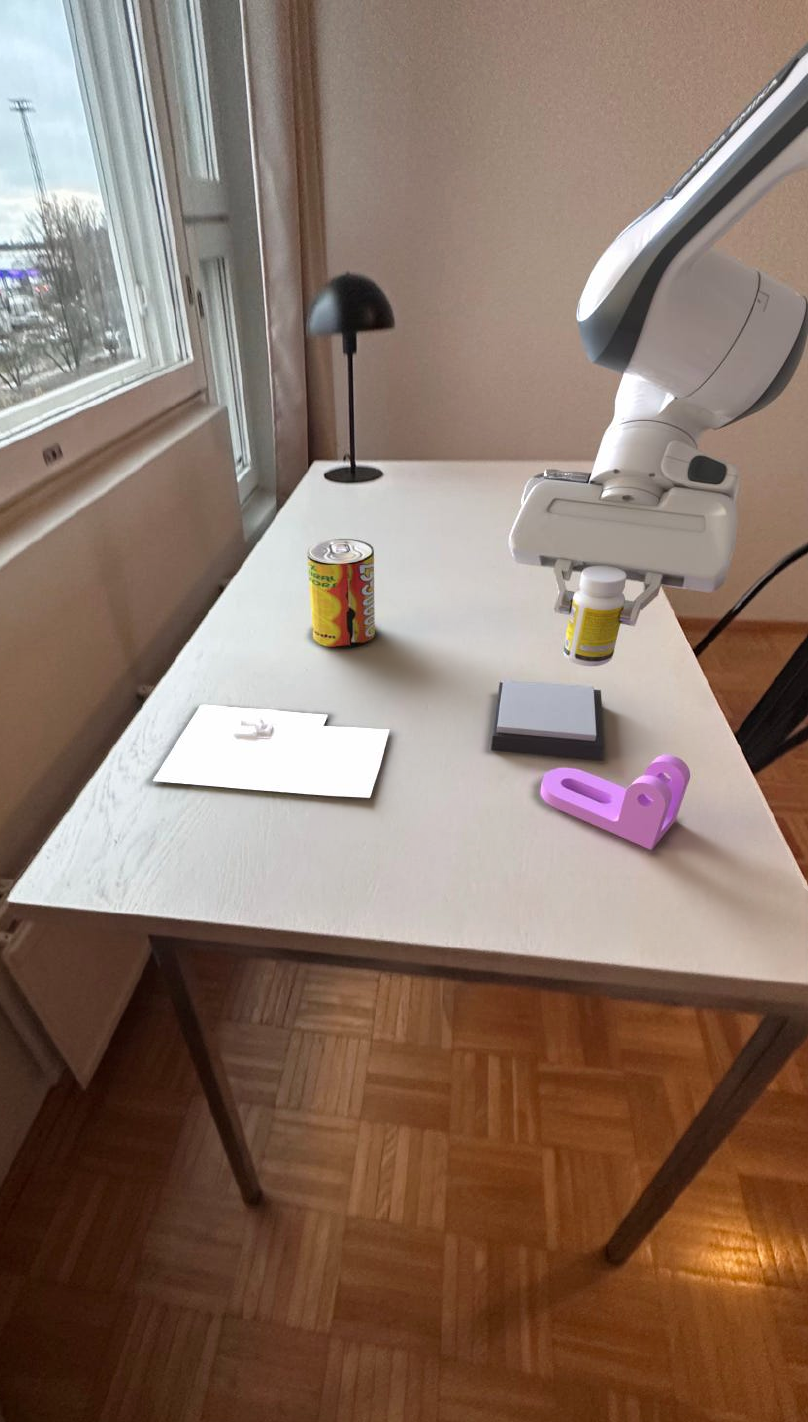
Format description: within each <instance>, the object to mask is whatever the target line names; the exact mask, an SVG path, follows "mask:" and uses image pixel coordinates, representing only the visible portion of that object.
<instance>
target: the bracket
mask: <svg viewBox="0 0 808 1422" xmlns="http://www.w3.org/2000/svg"><path fill="white" fill-rule="evenodd" d="M665 774H667V775H668V776H669V777H670V778H669V777H667V776H666V775H665ZM690 779H691V771H690V768H689V766H688V764H687V763H686V762H685V761H684V760H683V759H681V758H680V757H678V756H677V755H672V754H662V755H659V756H657V757H656V758H654V760H653V761H652V762H651V763H650V764H649V765H648V766H647V767H646V769H645V771H644V775H642V776H638V777H637V778H636V779H635V780H634V781H633V782H632V783H631V784H630V785H629V786H628V787H627V788H626V787H623V786H622V785H619V784H617V783H614V782H612V781H609V780H606V779H604V778H601V777H599V776H596V775H594V774H591V773H589V772H587V771H584V770H581V769H578V768H575V767H574V768H573V767H558V768H554V769H551V770H549V771H547V772H546V773H545V774H544V775H543V777H542V781H541V785H540V791H539V792H540V797H541V798H542V800H543V801H544V802H545V803H546V804H548V805H549V806H551V807H552V808H555V809H557V810H559V811H562V812H564V813H566V814H568V815H570V816H573V817H575V818H577V819H580V820H581V821H584V822H586V823H588V824H591V825H593V826H595V827H597V828H600V829H602V830H604V831H607V832H609V833H611V834H613V835H616V836H618V837H620V838H622V839H625V840H627V841H629V842H632V843H633V844H636V845H637V846H638V845H639V846H640V847H643V848H645V849H648V850H650V851H652V850H653V849H654V847H656V846H657V844H658V843H659V841H661V839H662V838H663V837H664V836H665V834H666V833H667V832H668V830H669V829H670V828H671V827H672V825H673V824H674V823H675V822H676V821H677V817H678V814H679V812H680V808H681V805H682V803H683V800H684V797H685V793H686V791H687V788H688V785H689V783H690Z"/></svg>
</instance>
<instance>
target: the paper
mask: <svg viewBox="0 0 808 1422" xmlns="http://www.w3.org/2000/svg"><path fill="white" fill-rule="evenodd" d="M327 718H328V714H323V713H322V714H321V713H307V712H296V711H285V710H277V709H265V708H247V707H232V706H224V705H215V704H214V705H213V704H200V705H199V706H198V709H197V710H196V712H195V713H194V715H193V717H192V718H191V720H190V721H189V723H188V724H187V726H186V728H185V729H184V730H183V732H182V733H181V735H180V737H179V738H178V739H177V741H176V743H175V744H174V747H173V748H172V749H171V751H170V753H169V754H168V756H167V758H166V759H165V761H164V762H163V763H162V765H161V767H160V769H159V770H158V772H157V773H156V775H155V776H154V778H153V779H152V781H153V782H161V783H173V784H183V785H184V784H185V785H195V786H196V785H198V786H207V787H208V786H210V787H221V788H228V789H229V788H231V789H243V790H253V791H267V792H279V793H292V794H304V795H318V796H330V797H351V798H367V799H369V798H371V795H372V792H373V789H374V786H375V783H376V780H377V777H378V773H379V771H380V767H381V765H382V760H383V757H384V752H385V747H386V745H387V741H388V737H389V735H390V734H389V733H390V729H386V728H385V729H384V728H372V727H371V728H370V727H353V726H331V725H330V726H329V725H325V723H326V720H327Z"/></svg>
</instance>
